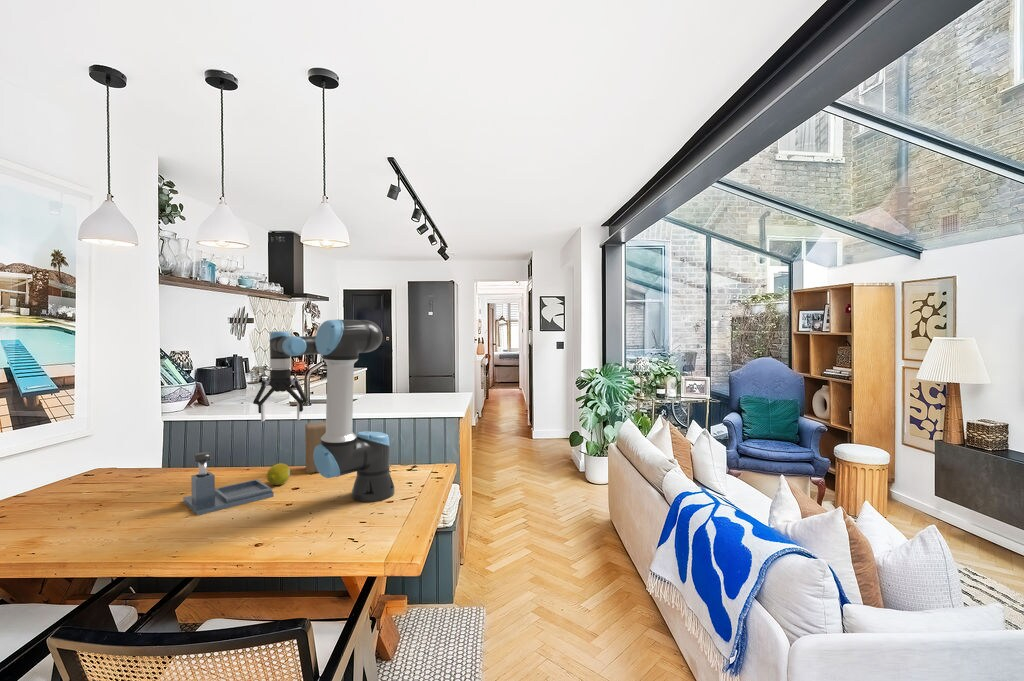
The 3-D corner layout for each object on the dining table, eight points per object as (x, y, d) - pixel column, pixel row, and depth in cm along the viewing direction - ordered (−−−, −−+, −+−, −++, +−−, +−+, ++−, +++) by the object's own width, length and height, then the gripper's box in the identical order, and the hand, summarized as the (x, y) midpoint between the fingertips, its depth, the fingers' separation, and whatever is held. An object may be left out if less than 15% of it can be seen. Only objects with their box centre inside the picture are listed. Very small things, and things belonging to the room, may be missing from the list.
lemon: (280, 489, 182) (279, 468, 181) (261, 488, 183) (261, 467, 182) (296, 479, 192) (296, 460, 192) (278, 478, 193) (278, 459, 193)
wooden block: (305, 467, 209) (305, 422, 208) (329, 465, 213) (329, 420, 212) (306, 474, 200) (305, 427, 199) (331, 471, 204) (331, 425, 203)
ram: (213, 483, 165) (212, 453, 165) (196, 487, 161) (196, 456, 161) (209, 480, 168) (208, 451, 168) (192, 483, 165) (192, 454, 164)
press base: (273, 496, 174) (273, 468, 173) (197, 515, 156) (196, 484, 156) (255, 485, 186) (255, 458, 185) (183, 501, 168) (182, 472, 168)
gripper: (314, 367, 201) (315, 417, 201) (250, 368, 195) (251, 419, 196) (311, 369, 193) (311, 420, 194) (244, 370, 188) (244, 423, 189)
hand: (281, 420), depth 195 cm, fingers open, 13 cm apart
